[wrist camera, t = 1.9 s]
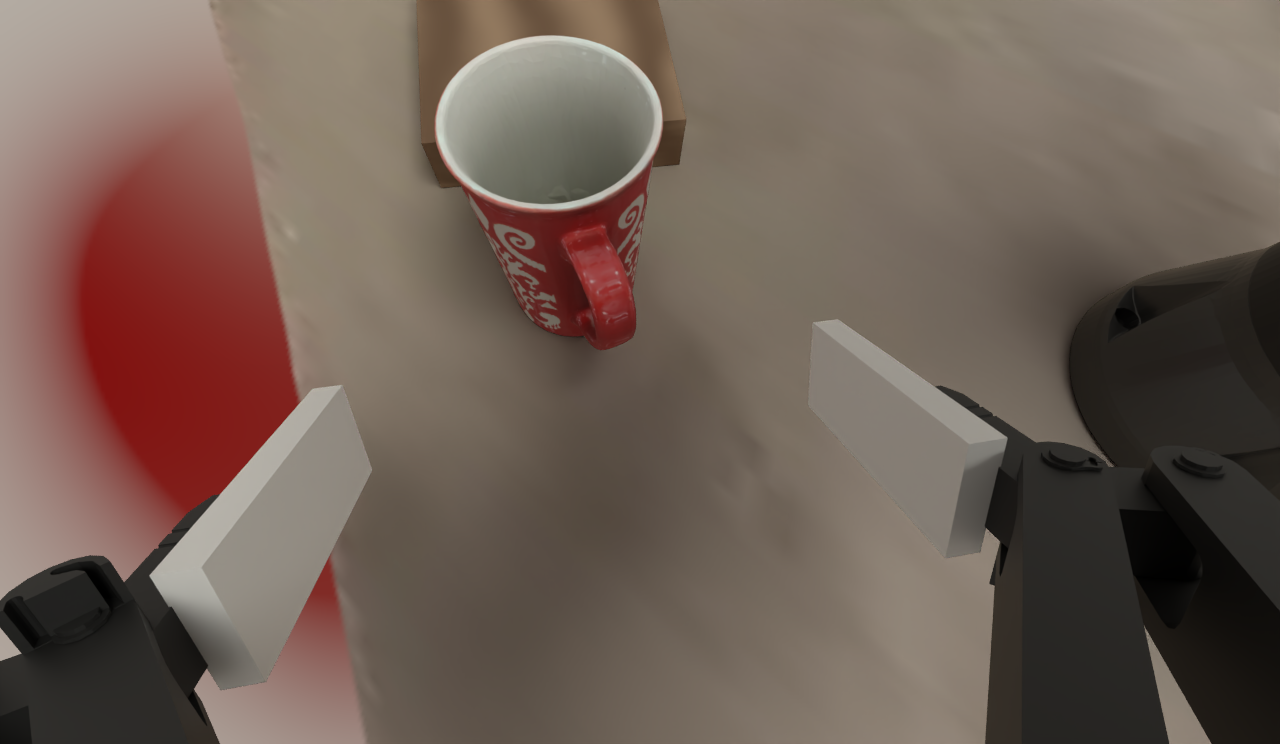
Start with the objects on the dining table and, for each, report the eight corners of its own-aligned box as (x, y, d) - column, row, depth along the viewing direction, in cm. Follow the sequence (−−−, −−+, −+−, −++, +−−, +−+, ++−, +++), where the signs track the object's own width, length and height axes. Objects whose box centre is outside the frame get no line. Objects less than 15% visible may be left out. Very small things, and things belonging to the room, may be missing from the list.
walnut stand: (641, -1, 43) (644, -55, 39) (679, 164, 38) (686, 119, 34) (433, 14, 42) (415, -42, 38) (441, 187, 36) (421, 143, 33)
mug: (485, 241, 35) (413, 54, 22) (621, 208, 36) (625, 14, 24) (534, 425, 31) (479, 324, 19) (684, 381, 33) (730, 259, 20)
